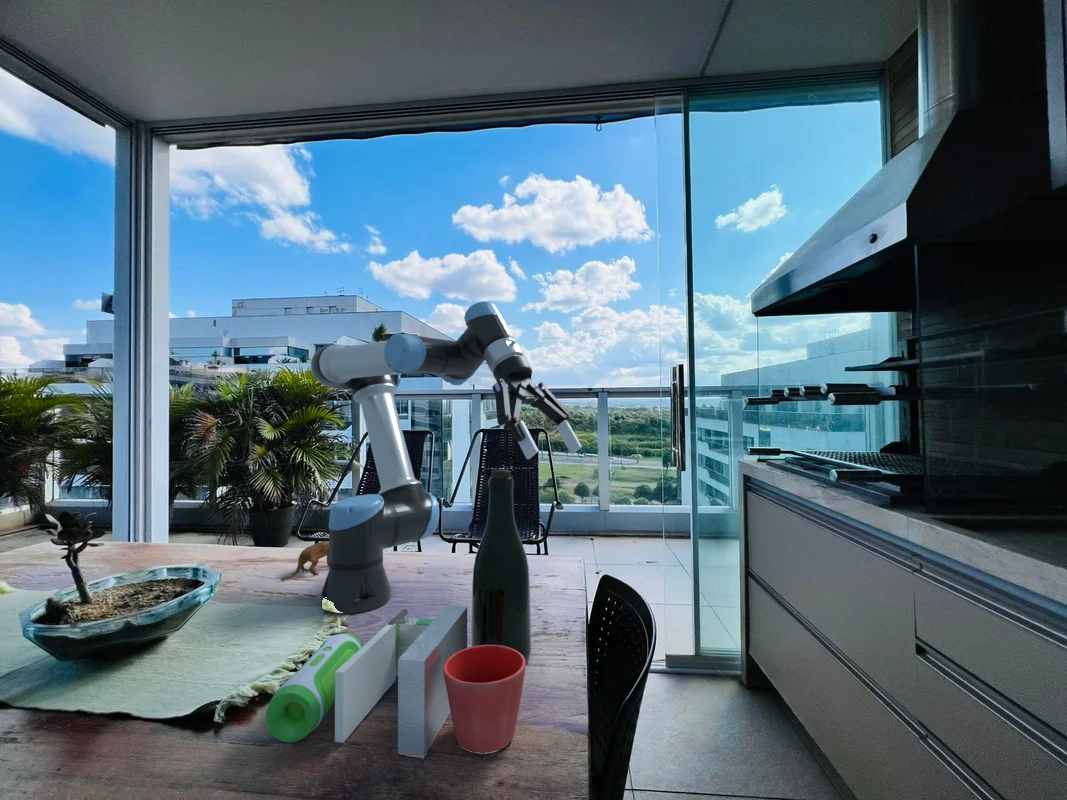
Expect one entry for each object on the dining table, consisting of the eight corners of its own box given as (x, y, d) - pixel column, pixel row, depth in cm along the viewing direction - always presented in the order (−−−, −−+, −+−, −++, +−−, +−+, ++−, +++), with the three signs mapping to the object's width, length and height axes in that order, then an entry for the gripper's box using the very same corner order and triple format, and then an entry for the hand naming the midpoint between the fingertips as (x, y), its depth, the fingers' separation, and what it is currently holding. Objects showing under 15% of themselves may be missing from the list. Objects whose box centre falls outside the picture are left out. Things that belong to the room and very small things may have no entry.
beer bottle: (526, 642, 92) (525, 465, 93) (535, 671, 82) (535, 472, 83) (469, 646, 91) (469, 467, 91) (472, 677, 80) (472, 474, 81)
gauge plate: (334, 741, 64) (335, 670, 64) (401, 664, 84) (402, 609, 84) (343, 742, 64) (343, 670, 64) (408, 664, 84) (408, 609, 84)
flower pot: (447, 713, 71) (447, 645, 71) (523, 709, 72) (523, 641, 72) (439, 766, 60) (439, 686, 60) (528, 760, 61) (528, 681, 61)
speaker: (323, 674, 82) (323, 629, 82) (366, 675, 81) (366, 629, 82) (261, 747, 64) (261, 688, 64) (316, 748, 64) (317, 689, 64)
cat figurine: (287, 587, 124) (285, 533, 124) (274, 582, 128) (272, 529, 128) (351, 566, 139) (349, 517, 139) (337, 561, 143) (336, 514, 142)
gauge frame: (325, 746, 64) (326, 652, 64) (395, 667, 83) (395, 595, 84) (424, 758, 61) (424, 661, 62) (471, 674, 81) (471, 601, 81)
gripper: (474, 347, 90) (525, 445, 82) (557, 358, 109) (604, 439, 101) (452, 372, 94) (498, 468, 86) (535, 379, 113) (580, 458, 105)
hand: (556, 452), depth 93 cm, fingers open, 13 cm apart
